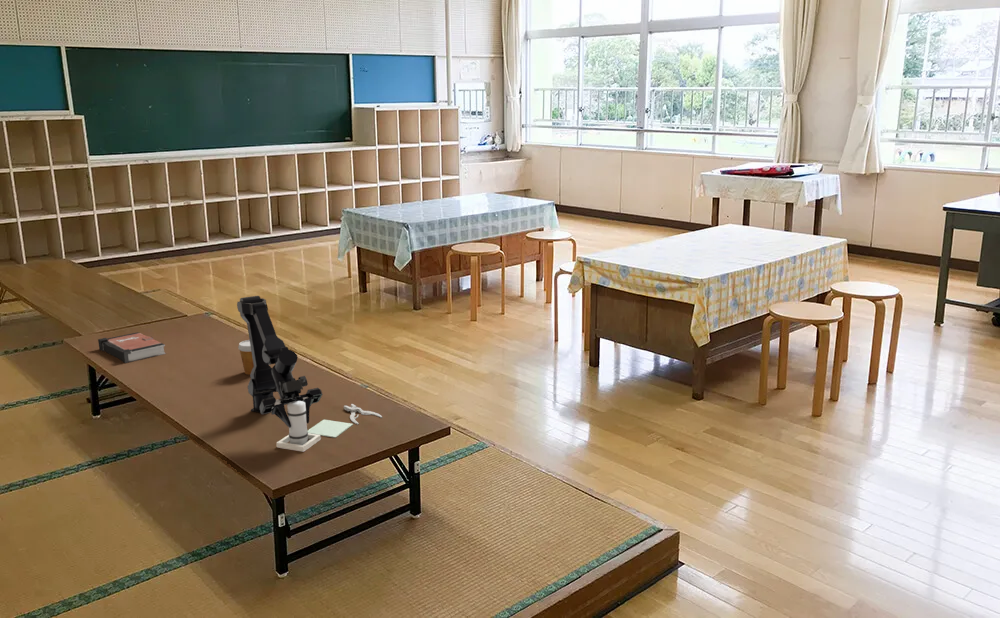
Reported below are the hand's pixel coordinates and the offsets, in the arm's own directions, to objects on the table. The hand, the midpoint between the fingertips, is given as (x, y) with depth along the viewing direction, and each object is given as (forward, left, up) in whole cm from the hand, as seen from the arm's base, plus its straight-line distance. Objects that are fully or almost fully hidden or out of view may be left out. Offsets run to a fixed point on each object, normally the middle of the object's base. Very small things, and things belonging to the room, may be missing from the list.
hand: (299, 425), depth 248 cm
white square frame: (-1, +1, -7) cm, 7 cm away
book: (-119, +57, -7) cm, 132 cm away
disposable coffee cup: (-55, +52, -7) cm, 76 cm away
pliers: (+5, +28, -7) cm, 29 cm away
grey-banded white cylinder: (-1, +1, -7) cm, 7 cm away
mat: (+2, +14, -7) cm, 15 cm away
